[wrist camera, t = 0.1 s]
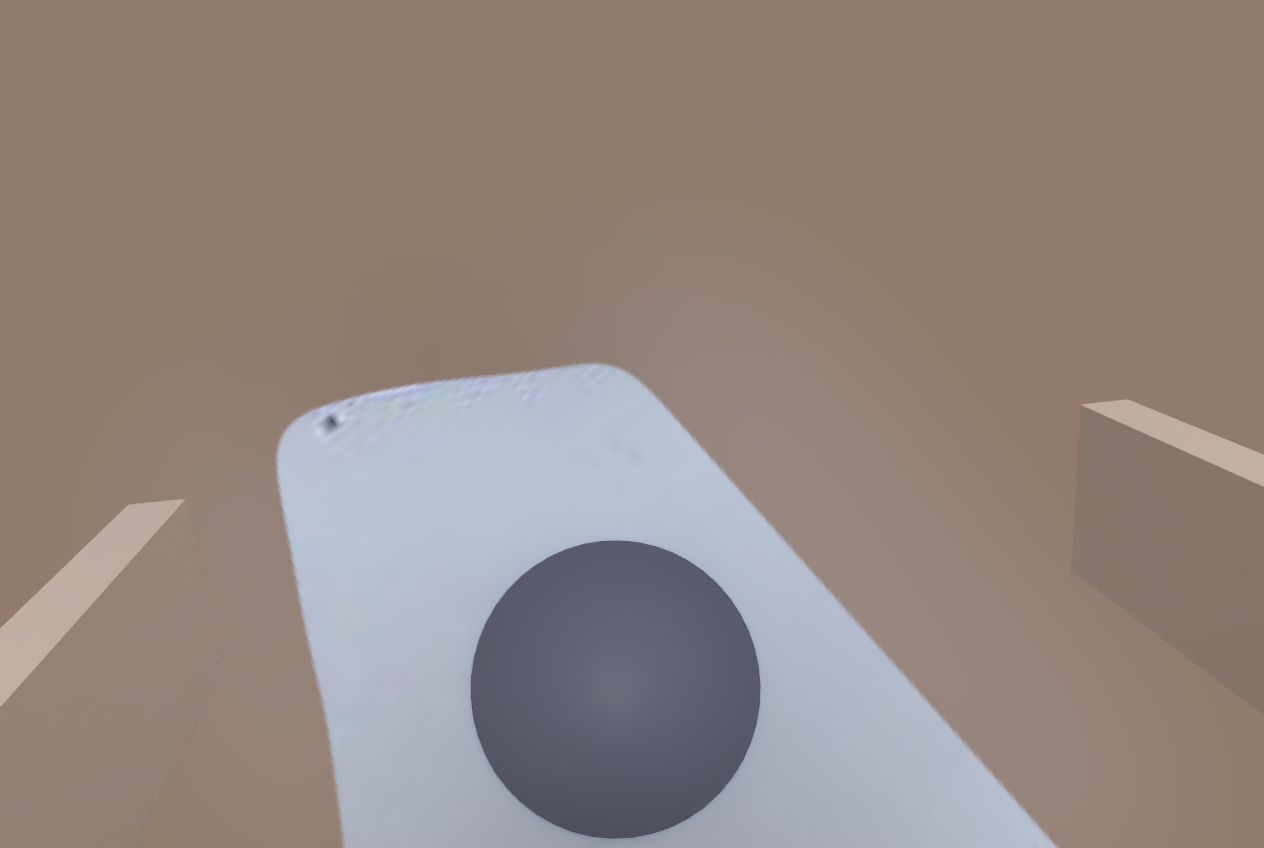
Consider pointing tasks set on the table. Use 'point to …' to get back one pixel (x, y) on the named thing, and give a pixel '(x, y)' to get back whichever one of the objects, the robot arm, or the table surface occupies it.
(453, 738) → the table surface
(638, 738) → the disc
